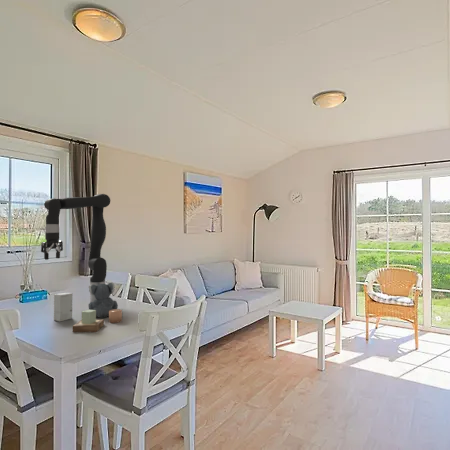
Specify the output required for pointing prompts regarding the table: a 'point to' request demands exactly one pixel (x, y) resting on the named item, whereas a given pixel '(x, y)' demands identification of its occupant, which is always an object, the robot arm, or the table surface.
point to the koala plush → (102, 299)
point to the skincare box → (62, 306)
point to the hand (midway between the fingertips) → (52, 258)
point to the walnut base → (88, 326)
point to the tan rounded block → (115, 315)
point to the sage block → (88, 316)
